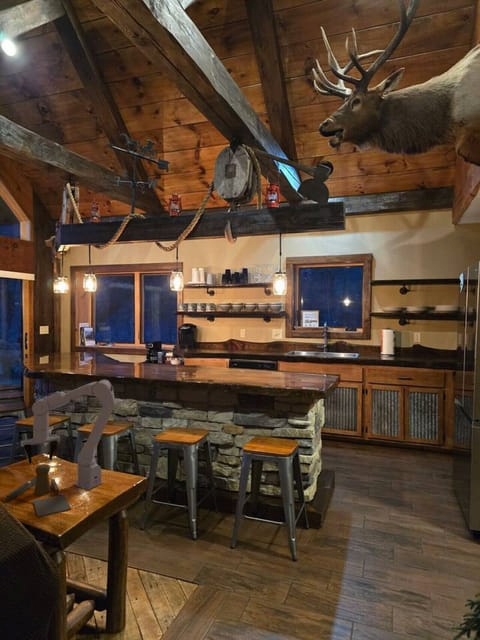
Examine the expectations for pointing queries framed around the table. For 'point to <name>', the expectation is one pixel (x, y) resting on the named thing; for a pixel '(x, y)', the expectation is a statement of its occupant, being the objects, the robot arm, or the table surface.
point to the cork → (42, 480)
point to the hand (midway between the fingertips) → (40, 460)
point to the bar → (21, 489)
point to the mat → (51, 505)
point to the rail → (55, 487)
